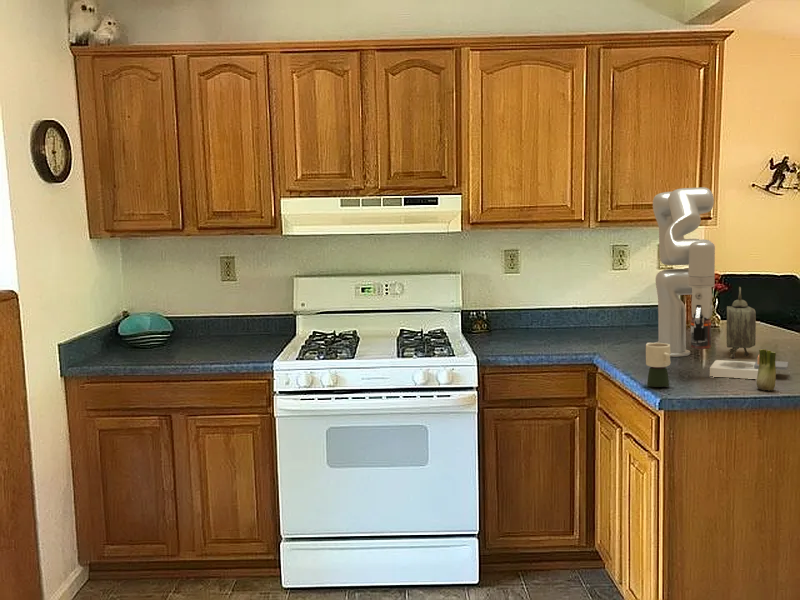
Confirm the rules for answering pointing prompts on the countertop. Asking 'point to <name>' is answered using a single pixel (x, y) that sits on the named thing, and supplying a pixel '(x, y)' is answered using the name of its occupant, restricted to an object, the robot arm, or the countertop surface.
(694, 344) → the supplement bottle
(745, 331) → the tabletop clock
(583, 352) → the countertop surface
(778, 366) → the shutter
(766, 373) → the fennel bulb
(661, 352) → the character mug
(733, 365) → the socket block
